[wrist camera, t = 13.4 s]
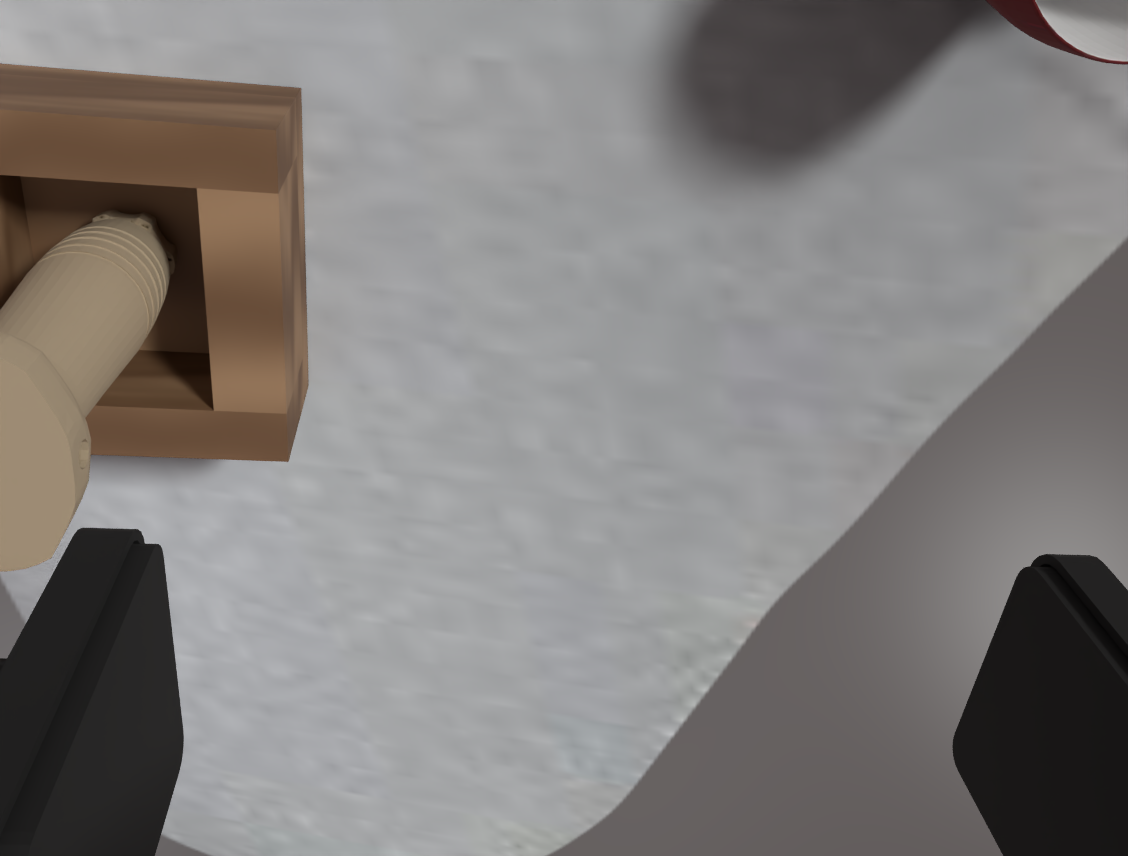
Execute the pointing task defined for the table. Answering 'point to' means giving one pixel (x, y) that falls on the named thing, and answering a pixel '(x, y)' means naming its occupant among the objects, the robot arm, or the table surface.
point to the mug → (1073, 25)
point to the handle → (69, 368)
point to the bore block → (197, 229)
